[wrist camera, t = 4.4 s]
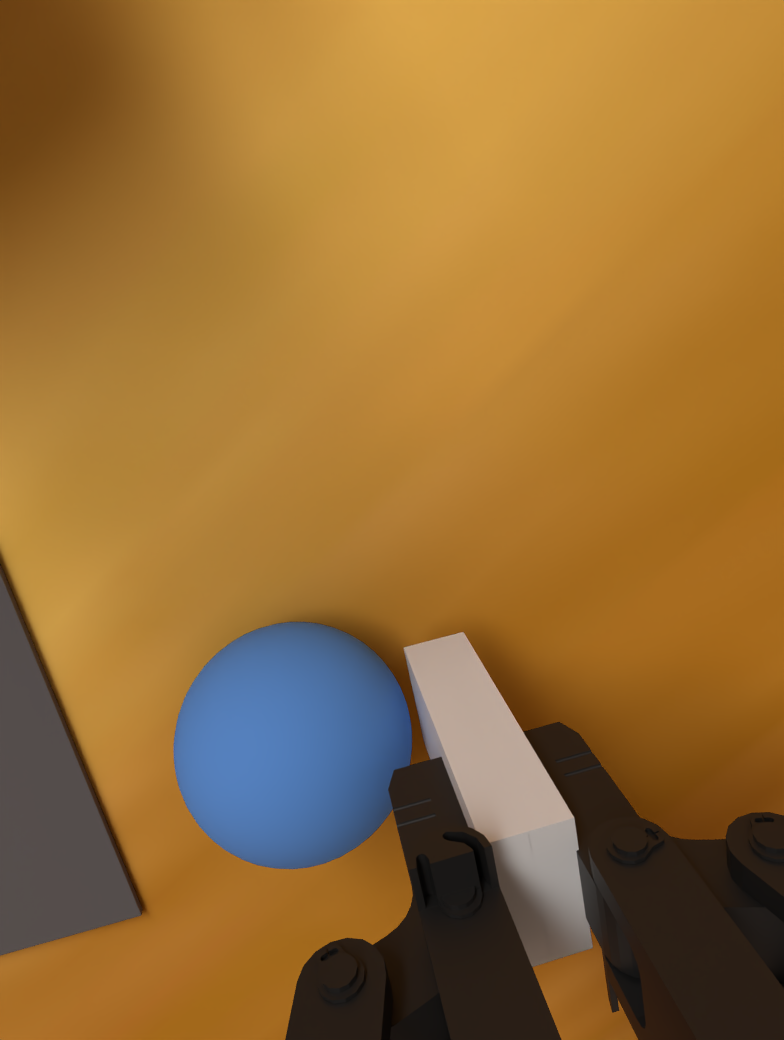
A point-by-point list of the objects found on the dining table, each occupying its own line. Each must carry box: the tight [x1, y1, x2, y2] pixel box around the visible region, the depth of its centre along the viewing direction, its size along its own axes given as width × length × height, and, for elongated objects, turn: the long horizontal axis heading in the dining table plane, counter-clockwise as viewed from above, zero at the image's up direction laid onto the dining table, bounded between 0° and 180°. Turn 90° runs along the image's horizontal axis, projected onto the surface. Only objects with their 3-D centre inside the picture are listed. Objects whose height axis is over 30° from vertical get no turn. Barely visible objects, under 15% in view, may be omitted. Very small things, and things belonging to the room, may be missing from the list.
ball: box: [174, 622, 412, 869], centre depth 17 cm, size 6×6×6 cm
